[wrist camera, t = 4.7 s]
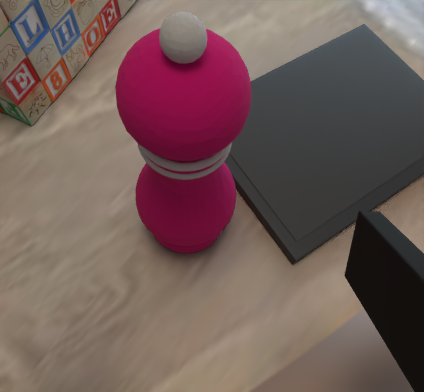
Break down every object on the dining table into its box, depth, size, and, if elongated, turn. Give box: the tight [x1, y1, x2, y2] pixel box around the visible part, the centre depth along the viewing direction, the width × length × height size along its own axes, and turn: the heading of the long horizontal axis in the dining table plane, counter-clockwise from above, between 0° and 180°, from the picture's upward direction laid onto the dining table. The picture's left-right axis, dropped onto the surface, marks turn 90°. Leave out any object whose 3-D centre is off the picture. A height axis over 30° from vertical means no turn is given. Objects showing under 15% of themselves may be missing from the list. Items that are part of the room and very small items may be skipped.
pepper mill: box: [116, 12, 251, 253], centre depth 22 cm, size 7×7×20 cm
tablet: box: [224, 24, 424, 264], centre depth 35 cm, size 22×16×1 cm
